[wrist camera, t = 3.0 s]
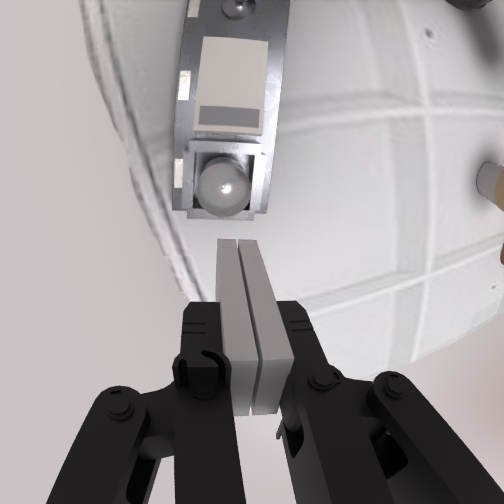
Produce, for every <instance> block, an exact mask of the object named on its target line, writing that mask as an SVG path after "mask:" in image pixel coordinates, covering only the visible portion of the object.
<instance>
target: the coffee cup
mask: <svg viewBox="0 0 504 504" xmlns="http://www.w3.org/2000/svg"><path fill="white" fill-rule="evenodd" d="M477 189H478V191H479V193H480V194H482V195H483V196H484V197H486V198H487V199H489V200H490V201H491V202H493V203H494V204H496V205H497V206H498V208H500V209H501V210H502V211H504V167H503V166H500V165H496V164H492V163H484V164H483V165H482V167H481V168H480V170H479V173H478V176H477Z"/></svg>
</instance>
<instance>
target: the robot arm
mask: <svg viewBox="0 0 504 504" xmlns="http://www.w3.org/2000/svg"><path fill="white" fill-rule="evenodd" d="M446 1H448V2H449V3H451V4H452V5H454V6H455V7H457V8H460V9H462V10H476V9H481V8H482V7H484V6H485V5H486V3H488V2H490V1H492V0H446ZM313 329H314V328H313V326H312V324H311V322H310V319H309V317H308V314H307V312H306V310H305V309H304V308H303V307H302V306H301V305H300V304H299V303H298V302H297V301H276V299H275V296H274V293H273V290H272V287H271V284H270V281H269V278H268V275H267V271H266V268H265V265H264V262H263V259H262V256H261V253H260V250H259V247H258V244H257V241H256V240H240V239H239V240H238V250H237V244H236V239H218V242H217V265H216V302H190V303H189V304H188V306H187V307H186V308H185V310H184V312H183V324H182V335H181V348H180V354H179V355H178V356H177V357H176V358H175V359H174V362H173V365H172V370H173V376H174V381H173V382H172V383H171V384H170V385H168V386H167V387H165V388H163V389H160V390H157V391H153V392H148V393H143V394H140V393H139V392H138V391H136V390H134V389H132V388H130V387H126V386H114V387H110V388H108V389H106V390H104V391H102V392H101V393H100V394H99V396H98V397H97V398H96V399H95V401H94V403H93V405H92V407H91V409H90V411H89V413H88V414H87V416H86V418H85V421H84V422H83V425H82V426H81V428H80V430H79V432H78V434H77V436H76V439H75V440H74V442H73V444H72V447H71V449H70V451H69V453H68V455H67V457H66V460H65V462H64V464H63V466H62V468H61V470H60V472H59V475H58V477H57V479H56V482H55V484H54V486H53V488H52V491H51V493H50V495H49V498H48V500H47V503H46V504H148V501H149V498H150V494H151V491H152V488H153V484H154V481H155V478H156V475H157V471H158V468H159V465H160V462H161V458H165V457H169V456H173V455H174V479H175V504H246V498H245V493H244V486H243V479H242V473H241V466H240V459H239V452H238V445H237V437H236V430H235V422H234V416H249V411H250V405H251V409H252V415H266V414H276V413H277V412H278V408H279V406H280V409H281V413H282V417H283V418H282V420H281V423H280V426H279V428H278V431H277V433H276V439H280V436H281V435H282V439H283V444H284V449H285V453H286V458H287V463H288V467H289V472H290V476H291V481H292V485H293V490H294V494H295V499H296V503H297V504H504V492H503V491H502V490H501V488H500V487H499V486H498V485H497V483H496V482H495V481H494V479H493V478H492V477H491V476H490V474H489V473H488V472H487V471H486V469H485V468H484V467H483V466H482V464H481V463H480V462H479V461H478V460H477V458H476V457H475V456H474V455H473V453H472V452H471V451H470V450H469V448H468V447H467V446H466V445H465V444H464V442H463V441H462V440H461V439H460V438H459V437H458V435H457V434H456V433H455V432H454V431H453V430H452V428H451V427H450V426H449V425H448V423H447V422H446V421H445V420H444V419H443V418H442V416H441V415H440V414H439V413H438V412H437V411H436V410H435V409H434V407H433V406H432V405H431V404H430V403H429V401H428V400H427V399H426V398H425V397H424V396H423V395H422V393H421V392H420V391H419V390H418V389H417V388H416V387H415V386H414V384H413V383H412V382H411V381H410V380H409V379H408V378H407V377H405V376H404V375H402V374H400V373H398V372H394V371H386V372H382V373H380V374H379V375H378V376H376V378H375V379H374V381H373V382H371V381H363V380H354V379H350V378H346V377H344V376H343V374H342V373H341V371H340V370H338V369H337V368H335V367H334V366H332V365H329V363H328V362H327V359H326V357H325V354H324V352H323V350H322V347H321V345H320V343H319V340H318V338H317V335H316V333H315V331H314V330H313Z"/></svg>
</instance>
